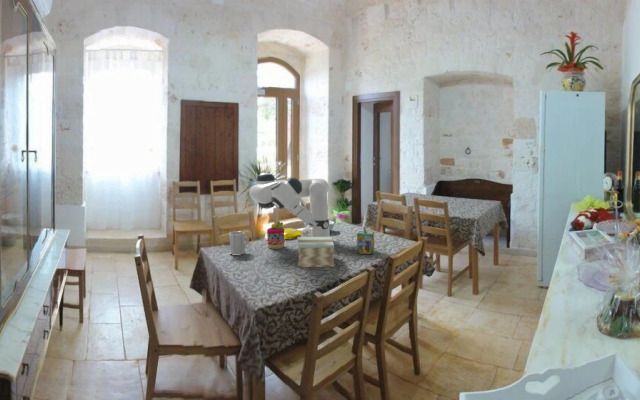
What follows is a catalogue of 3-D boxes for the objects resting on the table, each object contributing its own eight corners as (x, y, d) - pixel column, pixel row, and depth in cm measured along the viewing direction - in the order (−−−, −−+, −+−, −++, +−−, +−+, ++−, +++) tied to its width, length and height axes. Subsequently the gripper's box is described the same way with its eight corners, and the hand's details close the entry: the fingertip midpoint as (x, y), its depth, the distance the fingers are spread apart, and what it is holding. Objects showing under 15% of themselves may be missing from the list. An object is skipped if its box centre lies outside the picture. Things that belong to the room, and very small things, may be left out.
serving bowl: (337, 234, 314) (337, 224, 313) (306, 235, 311) (306, 225, 310) (331, 228, 335) (331, 219, 334) (302, 229, 331) (302, 220, 330)
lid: (298, 247, 234) (298, 245, 234) (298, 239, 254) (298, 236, 254) (334, 247, 235) (334, 244, 235) (331, 238, 255) (331, 236, 255)
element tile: (290, 233, 318) (290, 226, 318) (304, 237, 307) (304, 230, 306) (272, 236, 309) (272, 229, 308) (285, 240, 297) (285, 233, 297)
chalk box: (373, 254, 259) (373, 228, 257) (356, 254, 261) (356, 228, 259) (374, 250, 268) (374, 225, 266) (358, 250, 270) (358, 225, 268)
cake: (278, 249, 272) (277, 224, 270) (263, 247, 277) (263, 223, 275) (288, 246, 281) (287, 221, 279) (273, 244, 286) (273, 220, 284)
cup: (234, 251, 270) (233, 230, 268) (249, 251, 268) (248, 231, 266) (227, 255, 260) (226, 234, 258) (242, 256, 258) (242, 235, 256)
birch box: (298, 267, 235) (298, 248, 234) (298, 257, 255) (298, 239, 254) (334, 266, 236) (334, 247, 235) (331, 256, 256) (331, 239, 255)
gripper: (293, 207, 251) (311, 225, 253) (292, 214, 231) (312, 233, 232) (301, 199, 250) (319, 217, 252) (301, 205, 230) (321, 224, 232)
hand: (316, 225), depth 242 cm, fingers closed
